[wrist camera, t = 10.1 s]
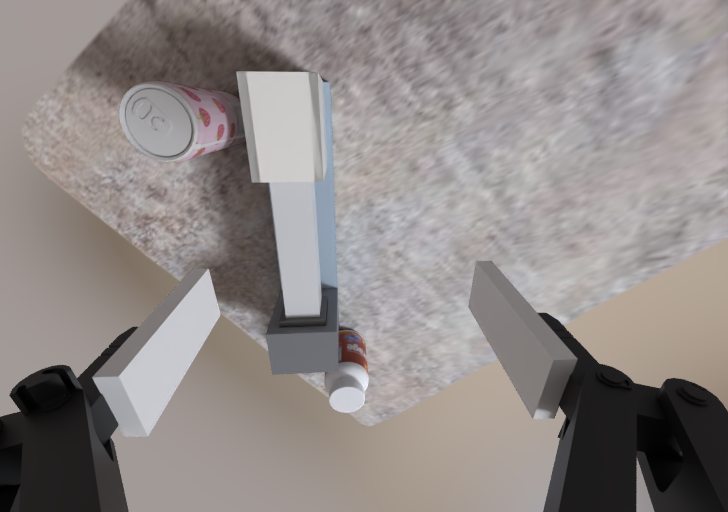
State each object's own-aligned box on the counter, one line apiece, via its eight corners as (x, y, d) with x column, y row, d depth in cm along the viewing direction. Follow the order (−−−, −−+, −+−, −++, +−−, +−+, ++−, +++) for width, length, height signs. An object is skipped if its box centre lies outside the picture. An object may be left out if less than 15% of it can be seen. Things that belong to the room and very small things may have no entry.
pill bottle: (372, 344, 51) (380, 401, 41) (343, 364, 53) (344, 423, 43) (348, 321, 49) (350, 375, 39) (318, 342, 50) (313, 399, 40)
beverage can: (206, 82, 35) (119, 63, 21) (257, 105, 36) (206, 101, 22) (195, 133, 37) (110, 145, 23) (244, 153, 38) (190, 176, 24)
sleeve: (262, 81, 34) (236, 71, 26) (323, 82, 34) (317, 72, 26) (271, 166, 38) (252, 182, 29) (327, 166, 38) (323, 181, 30)
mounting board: (257, 82, 35) (255, 81, 34) (330, 82, 35) (329, 82, 35) (286, 320, 48) (285, 324, 47) (338, 318, 49) (338, 322, 48)
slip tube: (268, 143, 34) (255, 149, 29) (319, 143, 34) (315, 148, 29) (289, 326, 44) (283, 354, 39) (328, 325, 44) (327, 352, 39)
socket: (281, 289, 45) (265, 334, 36) (337, 287, 45) (336, 331, 36) (285, 324, 47) (272, 374, 38) (338, 322, 48) (338, 371, 39)
